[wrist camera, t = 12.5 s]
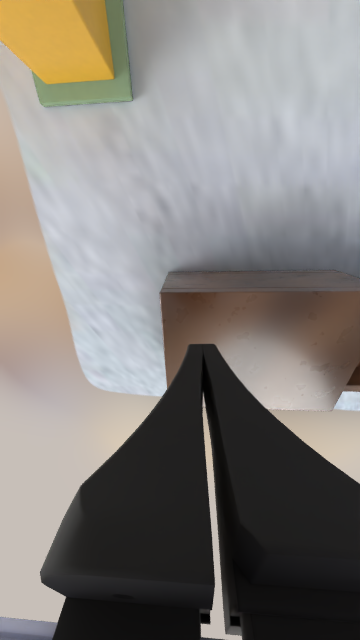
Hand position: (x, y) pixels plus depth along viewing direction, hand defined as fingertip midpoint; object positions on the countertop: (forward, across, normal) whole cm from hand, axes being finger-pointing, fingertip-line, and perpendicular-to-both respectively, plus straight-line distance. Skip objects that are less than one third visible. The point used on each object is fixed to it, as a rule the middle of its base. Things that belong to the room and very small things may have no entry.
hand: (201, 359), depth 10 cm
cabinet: (+9, -4, +3) cm, 11 cm away
